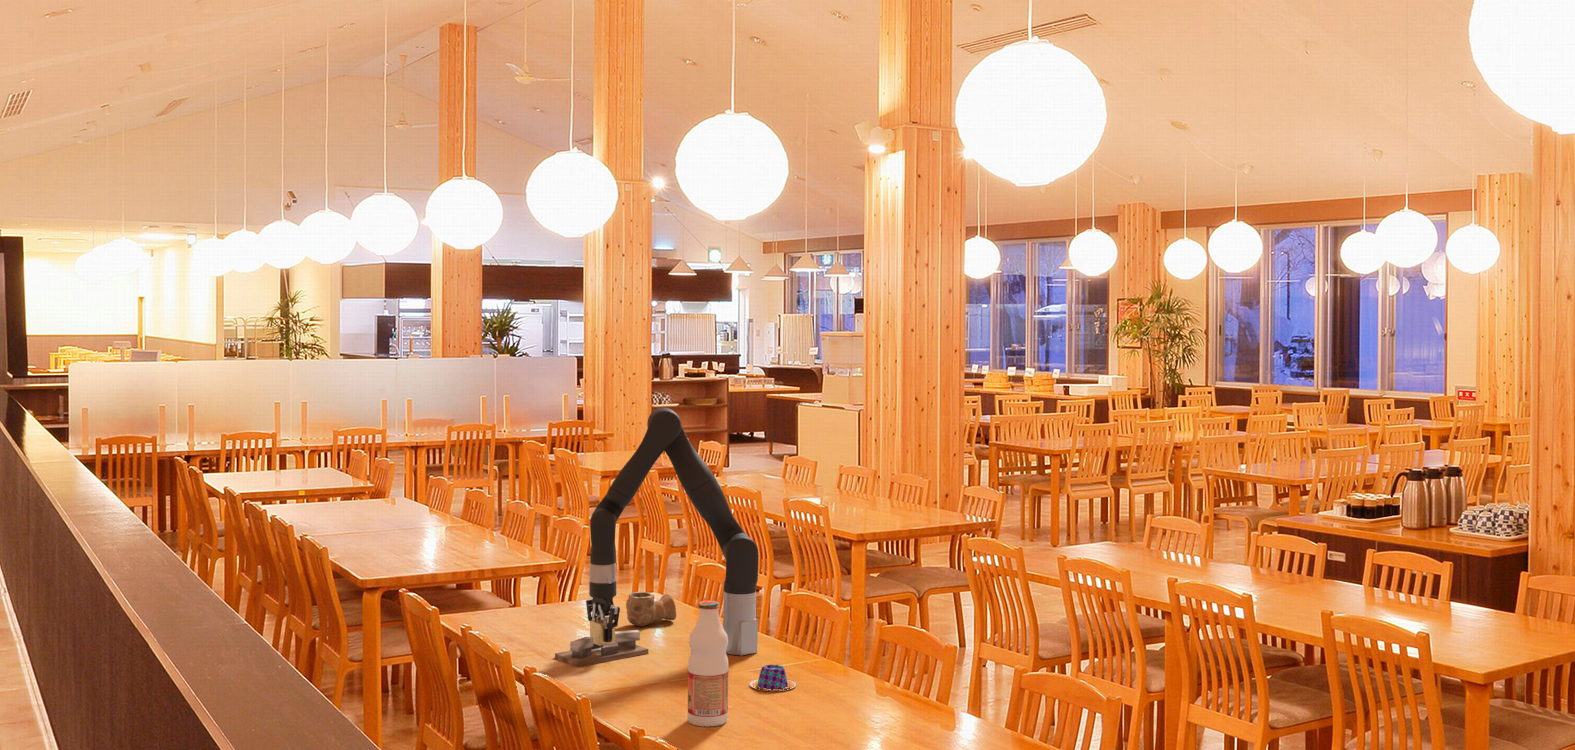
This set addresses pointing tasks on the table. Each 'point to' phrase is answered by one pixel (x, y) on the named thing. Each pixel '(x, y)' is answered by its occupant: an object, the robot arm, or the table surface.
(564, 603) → the table surface
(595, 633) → the tan knob block
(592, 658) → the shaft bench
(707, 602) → the fruit juice
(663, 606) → the pipe
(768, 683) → the pudding
